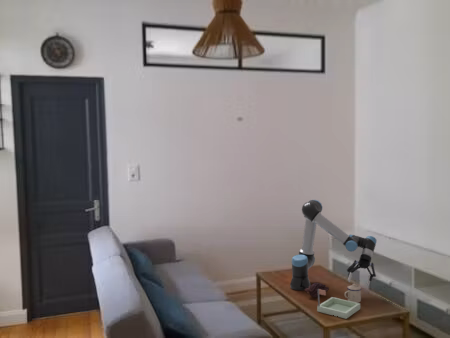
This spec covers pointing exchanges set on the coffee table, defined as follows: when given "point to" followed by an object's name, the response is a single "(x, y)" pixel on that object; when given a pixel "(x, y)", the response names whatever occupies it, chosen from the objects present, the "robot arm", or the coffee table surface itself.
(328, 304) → the mint green square tray
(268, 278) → the coffee table surface
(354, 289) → the teacup with lid
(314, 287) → the pine cone
